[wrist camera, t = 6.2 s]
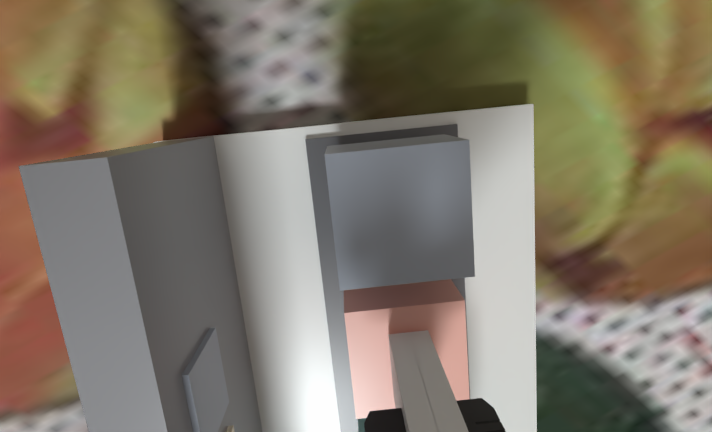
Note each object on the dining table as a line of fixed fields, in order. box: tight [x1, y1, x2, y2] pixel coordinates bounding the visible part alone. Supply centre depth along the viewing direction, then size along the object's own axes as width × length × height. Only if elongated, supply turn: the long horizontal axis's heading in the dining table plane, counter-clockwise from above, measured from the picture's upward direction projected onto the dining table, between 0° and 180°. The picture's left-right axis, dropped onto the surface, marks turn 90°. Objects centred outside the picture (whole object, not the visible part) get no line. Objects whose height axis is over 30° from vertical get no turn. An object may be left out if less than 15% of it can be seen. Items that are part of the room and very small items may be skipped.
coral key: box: [344, 279, 470, 419], centre depth 19 cm, size 4×4×4 cm
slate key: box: [324, 134, 475, 291], centre depth 16 cm, size 4×4×4 cm
